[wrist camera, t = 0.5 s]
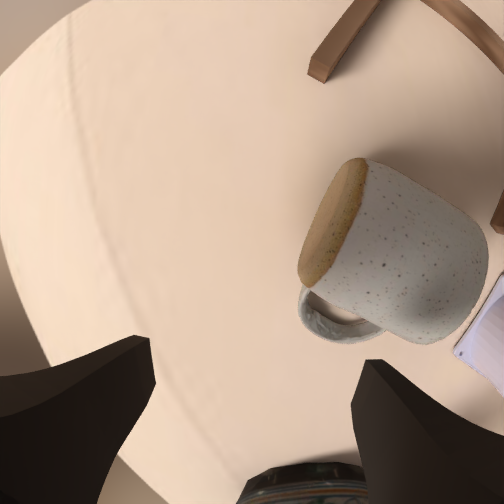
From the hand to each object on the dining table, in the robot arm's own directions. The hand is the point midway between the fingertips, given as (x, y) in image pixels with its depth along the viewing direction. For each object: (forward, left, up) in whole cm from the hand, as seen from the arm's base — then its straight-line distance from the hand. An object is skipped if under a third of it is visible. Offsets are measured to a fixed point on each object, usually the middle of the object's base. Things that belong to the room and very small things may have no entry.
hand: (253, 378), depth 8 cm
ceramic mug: (-4, -5, -10) cm, 12 cm away
